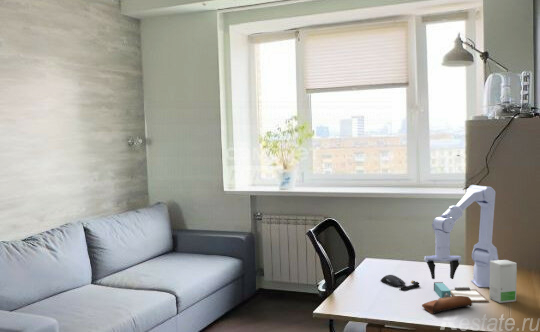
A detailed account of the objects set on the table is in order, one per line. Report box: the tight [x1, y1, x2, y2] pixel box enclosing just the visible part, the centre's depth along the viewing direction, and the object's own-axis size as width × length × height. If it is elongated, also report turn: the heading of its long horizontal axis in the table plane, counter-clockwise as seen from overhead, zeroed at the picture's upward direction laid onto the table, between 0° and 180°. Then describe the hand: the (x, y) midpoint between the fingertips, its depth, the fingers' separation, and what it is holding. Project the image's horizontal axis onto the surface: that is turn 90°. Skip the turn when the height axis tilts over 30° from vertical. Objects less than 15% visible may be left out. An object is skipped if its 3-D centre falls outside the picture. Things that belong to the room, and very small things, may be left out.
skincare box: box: [488, 259, 518, 304], centre depth 208 cm, size 8×7×16 cm
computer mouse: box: [380, 274, 421, 292], centre depth 232 cm, size 12×17×4 cm
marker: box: [433, 281, 451, 298], centre depth 214 cm, size 15×4×4 cm, turn 178°
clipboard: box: [450, 286, 490, 303], centre depth 213 cm, size 14×12×2 cm
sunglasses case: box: [421, 296, 473, 315], centre depth 200 cm, size 18×7×7 cm
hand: (442, 278), depth 215 cm, fingers open, 7 cm apart
